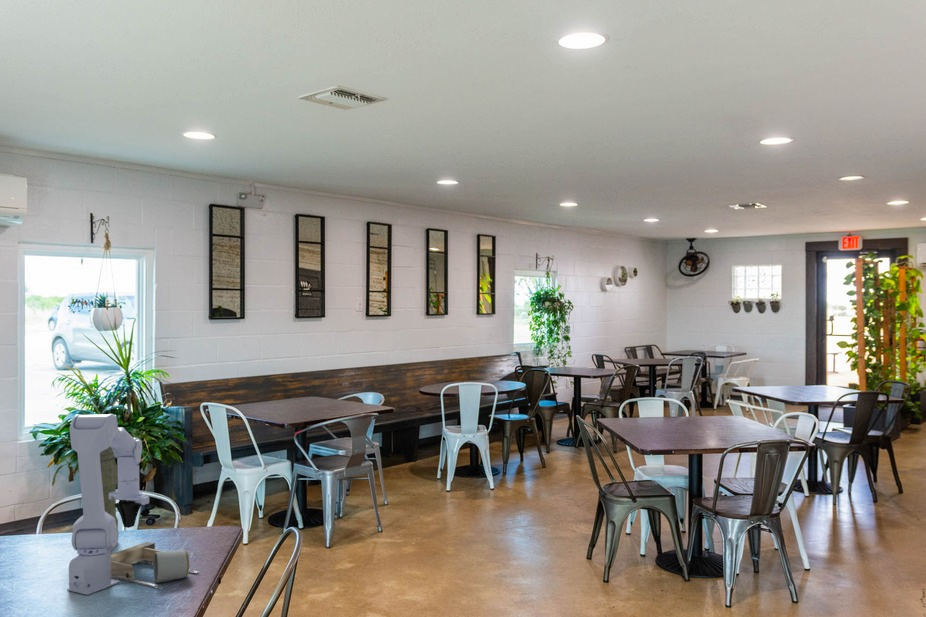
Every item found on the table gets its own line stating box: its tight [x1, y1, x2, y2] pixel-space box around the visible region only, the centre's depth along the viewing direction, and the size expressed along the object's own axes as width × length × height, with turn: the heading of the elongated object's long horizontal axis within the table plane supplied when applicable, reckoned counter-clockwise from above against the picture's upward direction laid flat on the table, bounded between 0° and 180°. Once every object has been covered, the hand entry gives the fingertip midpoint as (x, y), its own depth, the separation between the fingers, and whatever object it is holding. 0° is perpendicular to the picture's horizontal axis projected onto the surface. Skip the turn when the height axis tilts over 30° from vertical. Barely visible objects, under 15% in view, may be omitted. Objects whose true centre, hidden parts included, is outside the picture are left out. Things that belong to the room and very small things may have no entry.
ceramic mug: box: [152, 549, 190, 584], centre depth 201 cm, size 11×8×8 cm
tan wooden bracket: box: [111, 541, 163, 579], centre depth 207 cm, size 15×12×4 cm
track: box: [111, 560, 199, 589], centre depth 203 cm, size 13×23×1 cm, turn 63°
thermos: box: [100, 446, 119, 529], centre depth 230 cm, size 9×12×35 cm
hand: (129, 526), depth 218 cm, fingers closed
